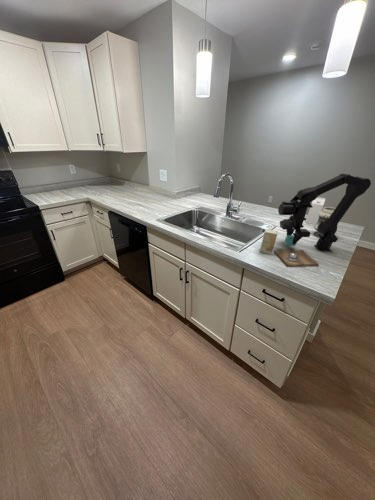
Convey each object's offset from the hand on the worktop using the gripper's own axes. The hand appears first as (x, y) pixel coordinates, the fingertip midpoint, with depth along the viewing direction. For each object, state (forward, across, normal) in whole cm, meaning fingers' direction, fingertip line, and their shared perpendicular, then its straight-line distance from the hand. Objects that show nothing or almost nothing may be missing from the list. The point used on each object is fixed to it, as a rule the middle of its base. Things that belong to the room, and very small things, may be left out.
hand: (290, 241), depth 111 cm
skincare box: (+4, +4, -15) cm, 16 cm away
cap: (+1, 0, 0) cm, 1 cm away
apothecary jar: (+4, -16, +30) cm, 34 cm away
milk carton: (+4, -38, +37) cm, 53 cm away
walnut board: (+4, +12, -3) cm, 13 cm away
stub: (+3, +13, -6) cm, 15 cm away
